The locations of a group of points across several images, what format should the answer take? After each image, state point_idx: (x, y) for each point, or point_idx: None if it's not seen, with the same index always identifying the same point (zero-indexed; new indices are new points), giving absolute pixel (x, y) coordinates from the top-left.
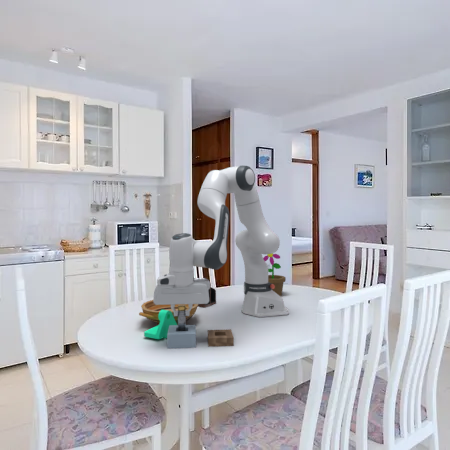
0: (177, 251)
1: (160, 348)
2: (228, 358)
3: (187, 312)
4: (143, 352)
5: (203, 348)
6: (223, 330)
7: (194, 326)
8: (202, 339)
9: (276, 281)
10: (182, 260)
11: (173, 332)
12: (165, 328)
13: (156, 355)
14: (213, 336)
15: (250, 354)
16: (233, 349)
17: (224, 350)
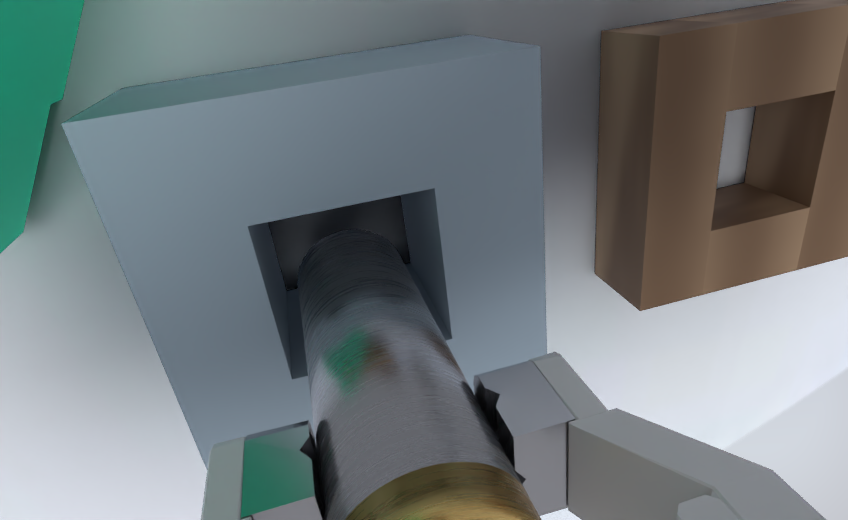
0: None
1: (152, 387)
2: (699, 432)
3: (554, 492)
4: (21, 496)
5: (552, 315)
6: (831, 44)
7: (524, 140)
8: (544, 90)
9: None
10: None
11: (272, 416)
12: (1, 115)
13: (185, 512)
14: (691, 255)
15: (836, 352)
16: (764, 294)
17: (701, 322)
